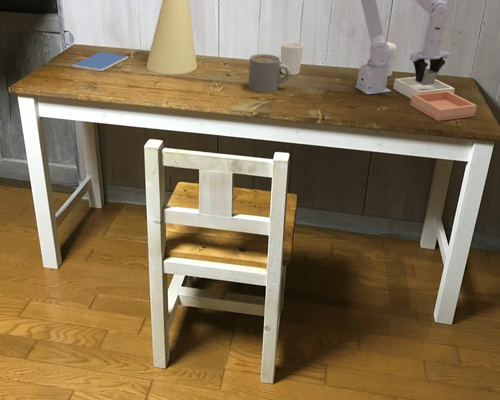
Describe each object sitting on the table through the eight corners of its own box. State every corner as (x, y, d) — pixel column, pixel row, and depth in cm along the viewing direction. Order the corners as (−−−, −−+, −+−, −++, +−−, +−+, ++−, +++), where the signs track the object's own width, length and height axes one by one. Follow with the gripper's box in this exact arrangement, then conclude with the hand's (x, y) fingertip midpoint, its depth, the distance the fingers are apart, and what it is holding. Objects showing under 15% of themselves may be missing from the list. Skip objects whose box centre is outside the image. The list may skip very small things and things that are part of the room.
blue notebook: (100, 54, 216) (100, 51, 216) (129, 58, 213) (129, 55, 213) (71, 68, 201) (70, 64, 200) (102, 73, 197) (101, 69, 197)
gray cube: (423, 85, 187) (425, 73, 185) (414, 81, 191) (417, 69, 189) (434, 84, 189) (436, 72, 187) (425, 80, 192) (428, 68, 190)
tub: (418, 102, 184) (420, 92, 182) (393, 88, 195) (394, 78, 193) (452, 98, 189) (454, 88, 187) (426, 85, 200) (428, 75, 198)
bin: (438, 121, 170) (440, 110, 169) (410, 104, 182) (412, 94, 180) (474, 116, 175) (477, 105, 174) (444, 100, 186) (447, 90, 185)
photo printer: (385, 72, 210) (390, 39, 204) (393, 76, 207) (399, 42, 201) (364, 76, 205) (370, 42, 199) (373, 80, 202) (378, 45, 196)
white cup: (277, 68, 209) (279, 41, 204) (298, 69, 210) (301, 42, 205) (280, 75, 202) (282, 47, 197) (302, 75, 203) (305, 48, 198)
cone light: (190, 76, 197) (189, -31, 179) (139, 71, 199) (133, -35, 181) (205, 56, 218) (205, -41, 200) (158, 52, 220) (155, -45, 202)
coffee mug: (244, 90, 187) (246, 60, 182) (253, 81, 195) (254, 52, 190) (284, 95, 184) (286, 65, 179) (290, 86, 192) (293, 57, 187)
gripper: (422, 44, 177) (414, 86, 184) (459, 41, 182) (449, 82, 189) (409, 38, 182) (401, 79, 189) (445, 36, 187) (436, 76, 194)
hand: (424, 80), depth 189 cm, fingers closed on gray cube, 4 cm apart
